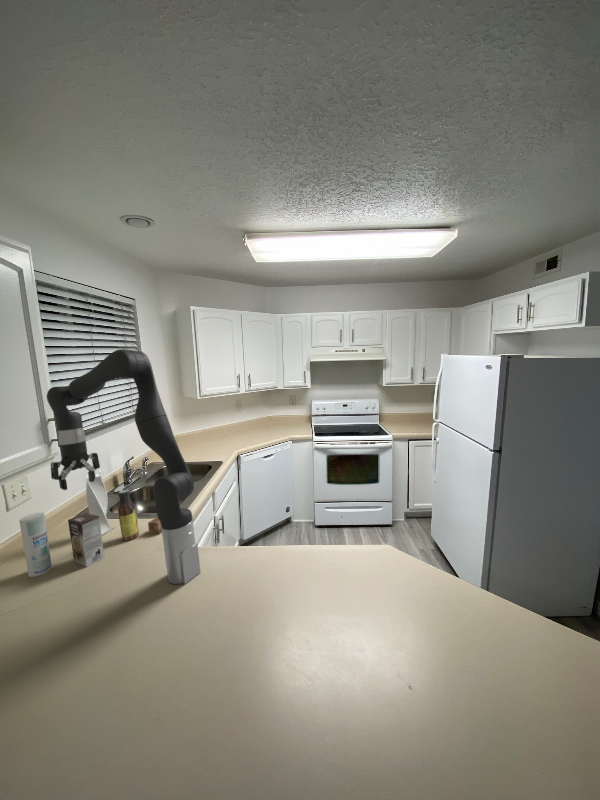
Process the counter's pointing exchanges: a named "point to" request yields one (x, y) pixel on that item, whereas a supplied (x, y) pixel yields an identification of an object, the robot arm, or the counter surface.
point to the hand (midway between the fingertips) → (78, 485)
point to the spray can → (35, 544)
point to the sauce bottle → (127, 516)
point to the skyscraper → (98, 500)
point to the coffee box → (86, 539)
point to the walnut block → (155, 526)
